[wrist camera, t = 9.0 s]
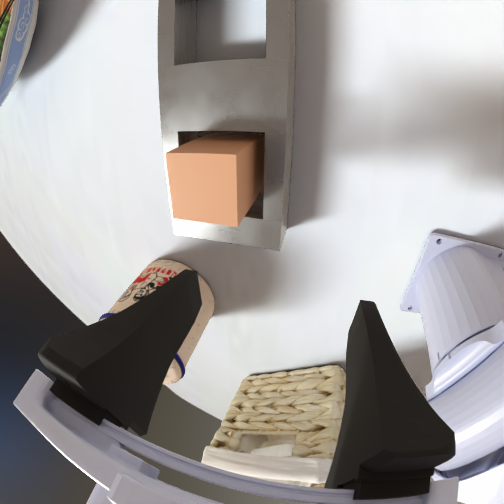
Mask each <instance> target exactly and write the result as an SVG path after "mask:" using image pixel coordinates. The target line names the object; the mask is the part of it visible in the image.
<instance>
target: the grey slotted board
mask: <svg viewBox="0 0 504 504" xmlns="http://www.w3.org/2000/svg"><path fill="white" fill-rule="evenodd" d="M196 8H197V0H159V6H158V80H159V101H160V116H161V129H162V141H163V151H164V161H165V170H166V179H167V187H168V194H169V202H170V209H171V216H172V222H173V228H174V235H180V236H187V237H194V238H200V239H207V240H213V241H220V242H226V243H233V244H239V245H246V246H252V247H258V248H265V249H271V250H278V251H280V248H281V245H282V242H283V239H284V236H285V233H286V230H287V220H288V206H289V192H290V176H291V159H292V140H293V118H294V90H295V37H296V11H295V0H266V58H255V59H230V60H216V61H206V62H197V63H196ZM198 131H246V132H265V159H264V200H259V199H256V200H255V201H254V203H253V204H252V206H251V207H250V209H249V210H248V212H247V213H246V215H245V217H244V218H243V220H242V221H241V223H240V224H239V226H238V227H234V226H226V225H219V224H211V223H204V222H196V221H188V220H180V219H173V213H172V206H171V199H170V191H169V183H168V174H167V165H166V156H165V153H167V152H169V151H171V150H173V149H175V148H177V147H179V146H181V145H183V144H185V143H188V142H190V141H192V140H194V139H197V138H199V133H198Z"/></svg>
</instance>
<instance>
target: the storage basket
mask: <svg viewBox="0 0 504 504" xmlns="http://www.w3.org/2000/svg"><path fill="white" fill-rule="evenodd" d="M345 393H346V374H345V372H344V369H342V368H341V367H339V366H337V365H336V366H332V365H329V366H323V367H320V368H318V367H313V368H309V369H305V370H303V369H301V370H294V371H291V372H277V373H273V374H262V375H259V376H248V377H246V378H245V379H243V381H242V382H241V386H240V387H239V389H238V391H237V393H236V394H235V397H234V399H233V400H232V402H231V405H230V407H229V410H228V412H227V413H226V414H225V418H224V420H223V421H222V424H221V427H220V428H219V430H218V431H217V432H216V433H215V436H214V439H213V440H212V441H211V445H210V446H206V448H205V450H204V452H203V458H202V463H203V464H206V465H209V466H212V467H215V468H219V469H222V470H226V471H229V472H233V473H237V474H240V475H245V476H249V477H253V478H258V479H262V480H267V481H272V482H278V483H284V484H290V485H298V486H306V487H315V488H324V486H325V483H326V480H327V477H328V474H329V471H330V467H331V464H332V461H333V457H334V453H335V449H336V445H337V441H338V437H339V432H340V428H341V423H342V417H343V411H344V405H345ZM234 419H235V420H234Z"/></svg>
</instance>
